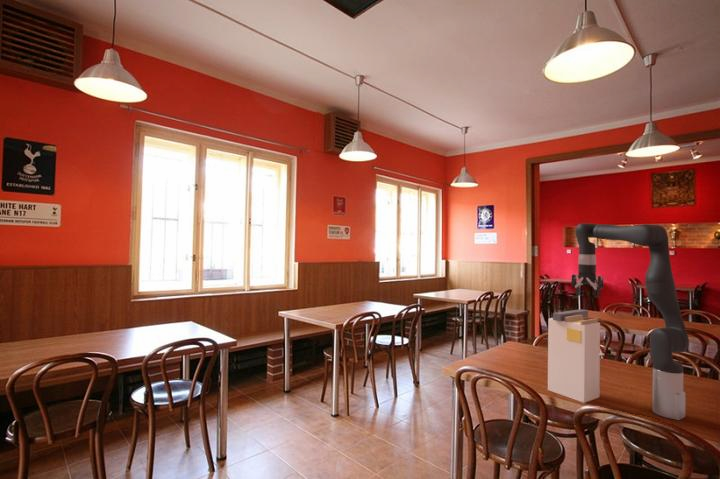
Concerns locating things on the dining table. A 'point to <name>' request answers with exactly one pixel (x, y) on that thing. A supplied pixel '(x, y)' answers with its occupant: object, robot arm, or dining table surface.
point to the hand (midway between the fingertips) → (586, 296)
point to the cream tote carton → (574, 358)
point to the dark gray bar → (569, 314)
